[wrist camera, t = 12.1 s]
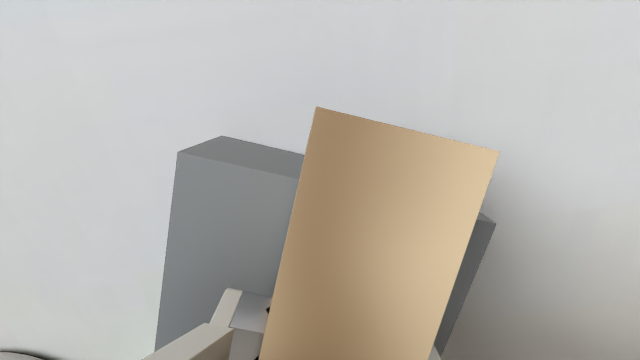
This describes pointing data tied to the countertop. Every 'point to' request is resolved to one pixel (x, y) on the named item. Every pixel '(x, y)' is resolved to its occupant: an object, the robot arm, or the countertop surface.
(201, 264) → the board
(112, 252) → the countertop surface
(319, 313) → the grey and tan blocks
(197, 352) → the robot arm
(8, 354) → the cylinder vase
